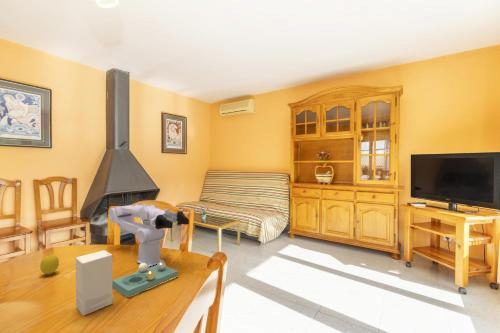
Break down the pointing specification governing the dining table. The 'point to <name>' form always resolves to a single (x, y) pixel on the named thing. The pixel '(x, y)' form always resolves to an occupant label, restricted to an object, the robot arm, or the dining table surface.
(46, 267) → the lemon
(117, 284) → the bearing plate
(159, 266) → the steel ball
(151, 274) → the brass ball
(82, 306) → the skincare box
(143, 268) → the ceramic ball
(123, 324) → the dining table surface
